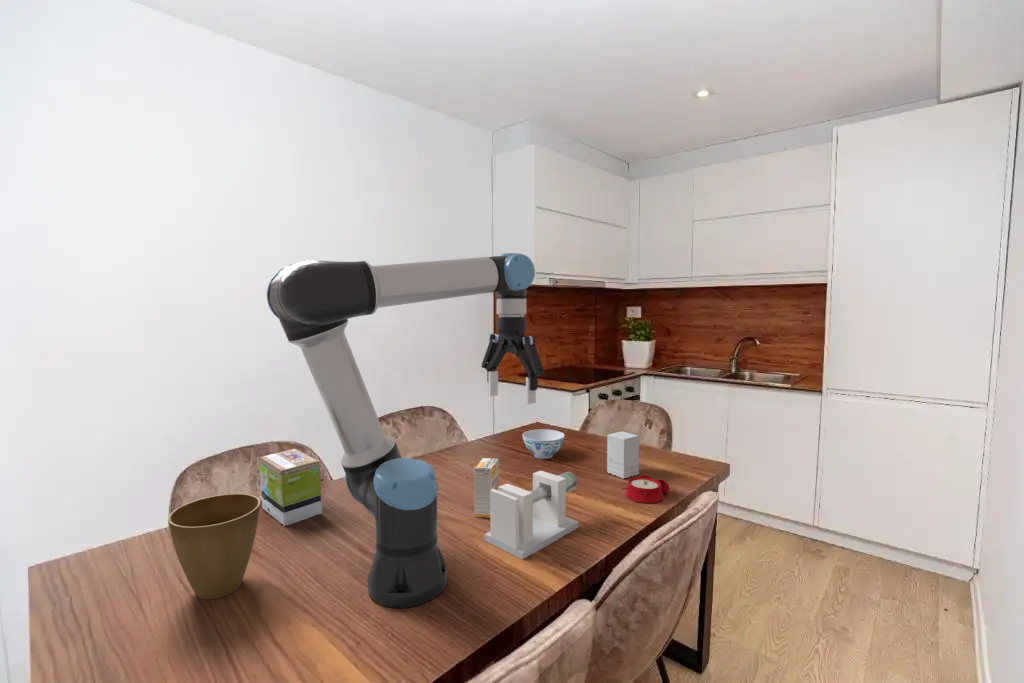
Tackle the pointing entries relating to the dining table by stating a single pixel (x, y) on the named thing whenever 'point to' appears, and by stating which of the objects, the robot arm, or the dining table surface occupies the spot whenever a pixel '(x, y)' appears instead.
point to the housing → (528, 516)
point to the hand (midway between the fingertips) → (511, 399)
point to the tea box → (290, 486)
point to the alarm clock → (646, 489)
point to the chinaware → (543, 442)
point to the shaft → (545, 490)
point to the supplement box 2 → (623, 454)
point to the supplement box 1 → (485, 485)
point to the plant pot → (215, 541)
